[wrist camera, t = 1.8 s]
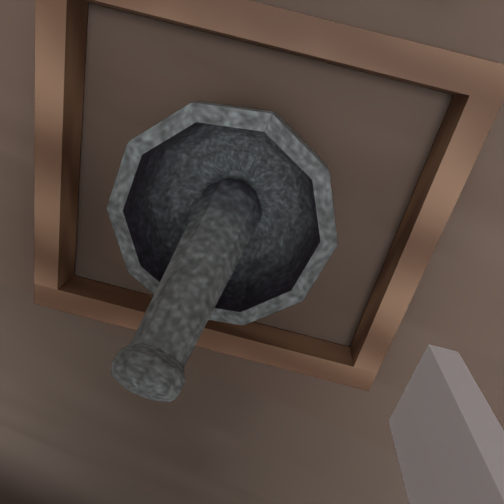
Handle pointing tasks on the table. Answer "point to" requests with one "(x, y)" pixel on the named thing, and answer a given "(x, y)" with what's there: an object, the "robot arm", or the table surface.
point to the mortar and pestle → (215, 231)
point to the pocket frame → (291, 41)
